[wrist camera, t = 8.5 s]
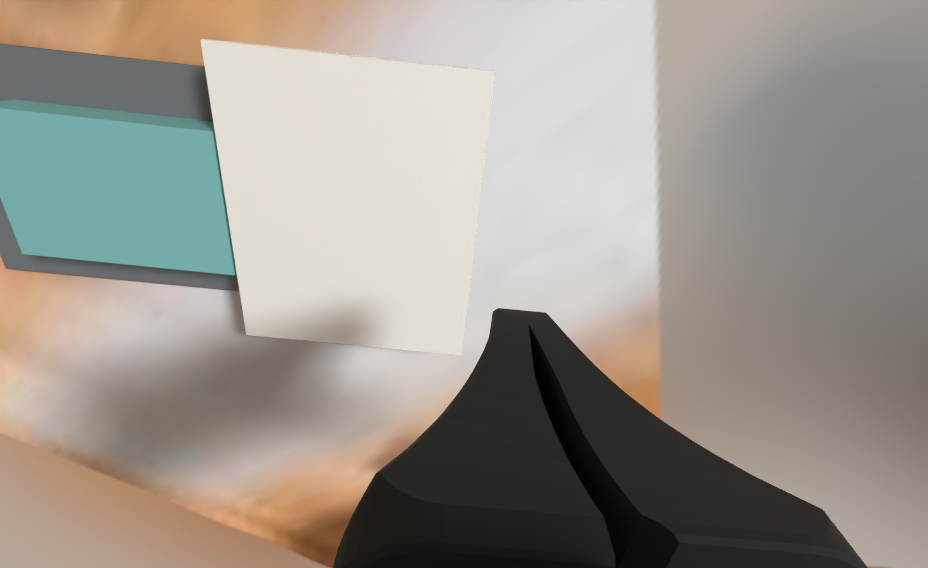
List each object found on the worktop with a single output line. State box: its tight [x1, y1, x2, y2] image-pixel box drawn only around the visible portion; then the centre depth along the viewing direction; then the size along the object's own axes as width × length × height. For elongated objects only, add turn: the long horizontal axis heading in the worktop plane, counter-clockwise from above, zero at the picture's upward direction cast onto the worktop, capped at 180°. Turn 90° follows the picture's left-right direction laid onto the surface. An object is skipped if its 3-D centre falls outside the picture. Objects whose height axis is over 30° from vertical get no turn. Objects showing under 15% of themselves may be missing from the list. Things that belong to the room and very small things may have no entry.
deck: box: [200, 39, 495, 355], centre depth 19 cm, size 12×10×2 cm
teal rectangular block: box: [0, 100, 237, 275], centre depth 18 cm, size 6×9×2 cm, turn 84°
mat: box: [0, 44, 239, 291], centre depth 19 cm, size 10×12×1 cm
